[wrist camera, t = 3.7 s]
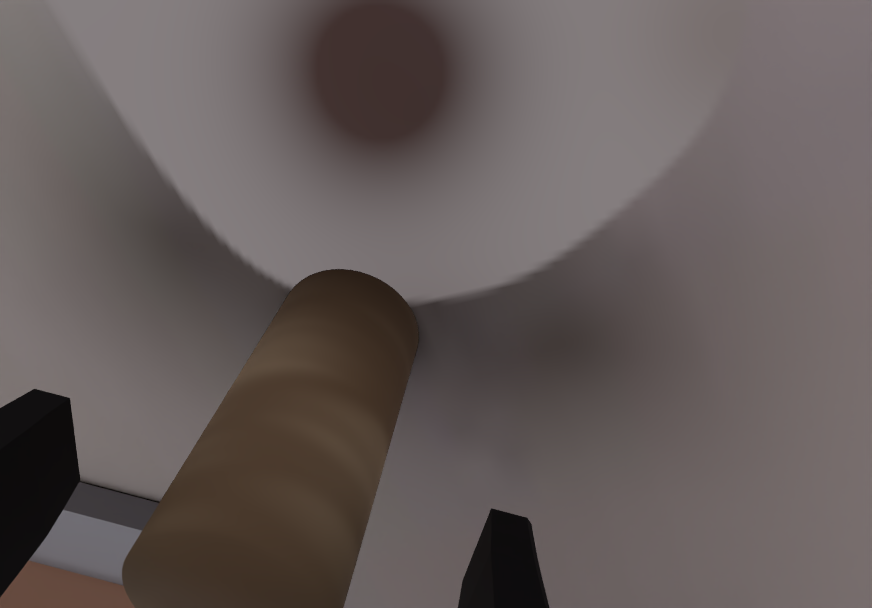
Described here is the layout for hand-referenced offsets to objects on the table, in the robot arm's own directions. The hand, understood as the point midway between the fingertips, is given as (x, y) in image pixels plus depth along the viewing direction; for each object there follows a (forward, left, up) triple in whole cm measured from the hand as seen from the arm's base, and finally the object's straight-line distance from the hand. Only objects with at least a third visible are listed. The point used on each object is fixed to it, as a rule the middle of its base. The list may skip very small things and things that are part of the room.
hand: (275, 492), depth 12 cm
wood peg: (0, 0, -5) cm, 5 cm away
